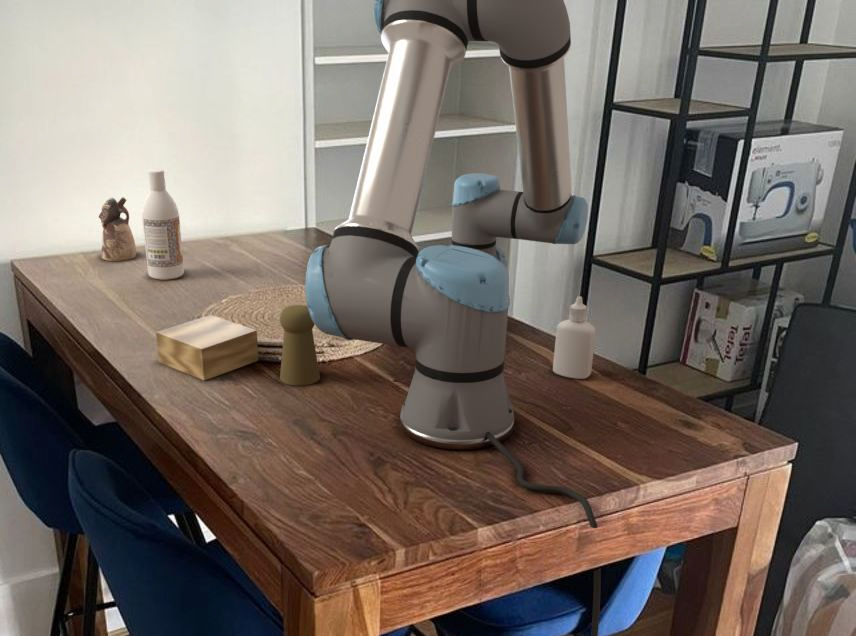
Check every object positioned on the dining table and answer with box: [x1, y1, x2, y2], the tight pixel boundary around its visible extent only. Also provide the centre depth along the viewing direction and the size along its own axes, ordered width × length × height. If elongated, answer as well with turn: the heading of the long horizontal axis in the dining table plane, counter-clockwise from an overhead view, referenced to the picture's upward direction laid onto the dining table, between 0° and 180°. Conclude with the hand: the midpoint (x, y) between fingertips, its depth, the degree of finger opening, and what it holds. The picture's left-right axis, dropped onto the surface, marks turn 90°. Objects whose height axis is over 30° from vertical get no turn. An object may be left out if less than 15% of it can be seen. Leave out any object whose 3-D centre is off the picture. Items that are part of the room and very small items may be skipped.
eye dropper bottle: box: [552, 295, 596, 380], centre depth 150 cm, size 4×6×12 cm
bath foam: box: [141, 168, 185, 281], centre depth 194 cm, size 7×7×20 cm
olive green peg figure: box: [279, 304, 321, 386], centre depth 150 cm, size 6×6×11 cm
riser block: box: [155, 314, 259, 381], centre depth 158 cm, size 11×11×5 cm
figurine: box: [98, 196, 137, 262], centre depth 208 cm, size 7×7×12 cm
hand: (342, 313), depth 155 cm, fingers open, 13 cm apart
